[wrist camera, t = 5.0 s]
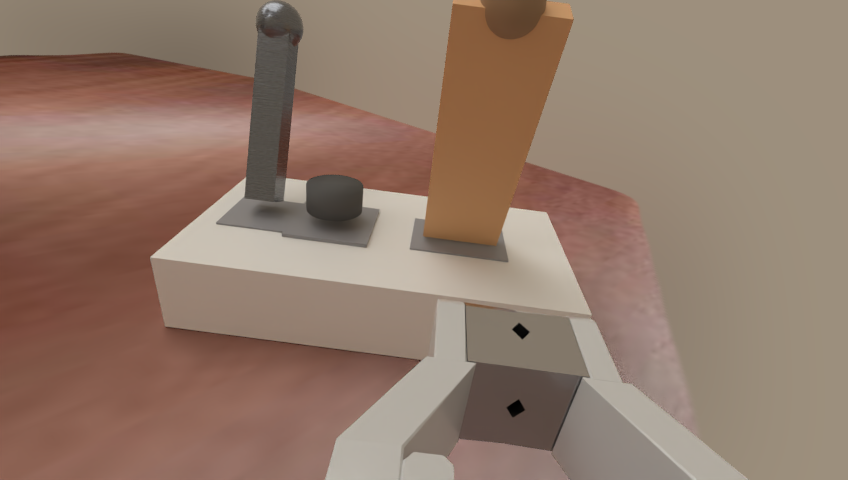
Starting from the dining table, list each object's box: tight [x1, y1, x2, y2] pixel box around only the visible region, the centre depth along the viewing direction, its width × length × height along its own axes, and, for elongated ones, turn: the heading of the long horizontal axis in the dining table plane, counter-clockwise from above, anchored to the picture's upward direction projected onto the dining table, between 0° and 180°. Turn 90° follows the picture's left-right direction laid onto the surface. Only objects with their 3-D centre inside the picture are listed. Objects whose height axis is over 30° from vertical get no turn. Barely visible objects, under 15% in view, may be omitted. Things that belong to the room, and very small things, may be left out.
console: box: [150, 178, 592, 360], centre depth 25 cm, size 20×11×4 cm, turn 86°
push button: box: [306, 175, 363, 221], centre depth 24 cm, size 3×3×1 cm
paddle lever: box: [423, 0, 574, 246], centre depth 19 cm, size 4×2×13 cm, turn 86°
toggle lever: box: [244, 0, 303, 202], centre depth 24 cm, size 2×2×10 cm
